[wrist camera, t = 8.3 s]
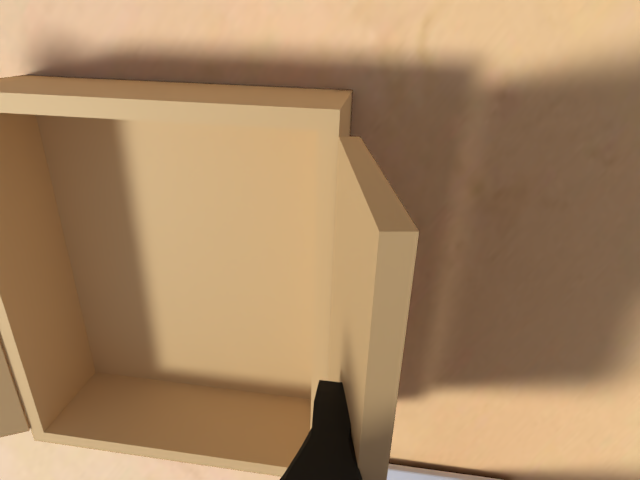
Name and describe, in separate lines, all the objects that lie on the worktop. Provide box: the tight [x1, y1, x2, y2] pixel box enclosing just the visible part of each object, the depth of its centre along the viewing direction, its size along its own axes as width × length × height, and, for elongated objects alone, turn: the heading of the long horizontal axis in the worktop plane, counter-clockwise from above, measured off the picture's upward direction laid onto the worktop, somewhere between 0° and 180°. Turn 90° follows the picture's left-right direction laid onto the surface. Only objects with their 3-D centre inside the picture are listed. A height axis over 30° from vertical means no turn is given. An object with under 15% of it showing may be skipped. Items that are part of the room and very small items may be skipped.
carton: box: [0, 75, 353, 477], centre depth 18 cm, size 15×13×4 cm
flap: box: [328, 136, 419, 480], centre depth 13 cm, size 6×14×1 cm
